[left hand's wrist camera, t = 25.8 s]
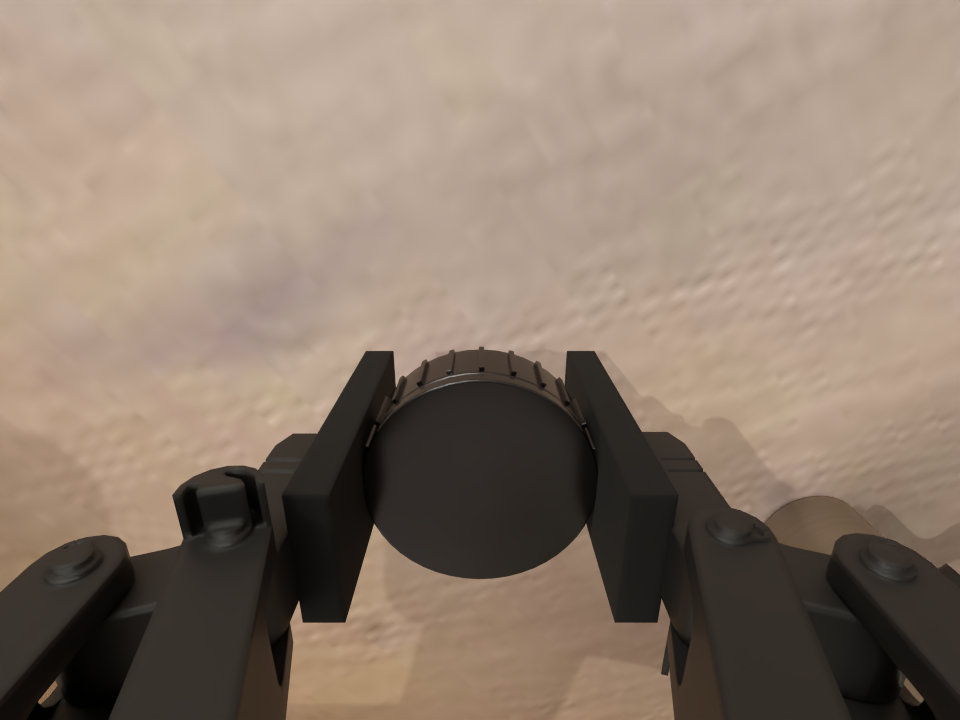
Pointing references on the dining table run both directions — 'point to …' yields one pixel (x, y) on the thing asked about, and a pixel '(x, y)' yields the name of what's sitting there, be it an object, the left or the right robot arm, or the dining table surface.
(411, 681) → the dining table surface
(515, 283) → the dining table surface
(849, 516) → the bottle
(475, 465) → the lid
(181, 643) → the left robot arm
